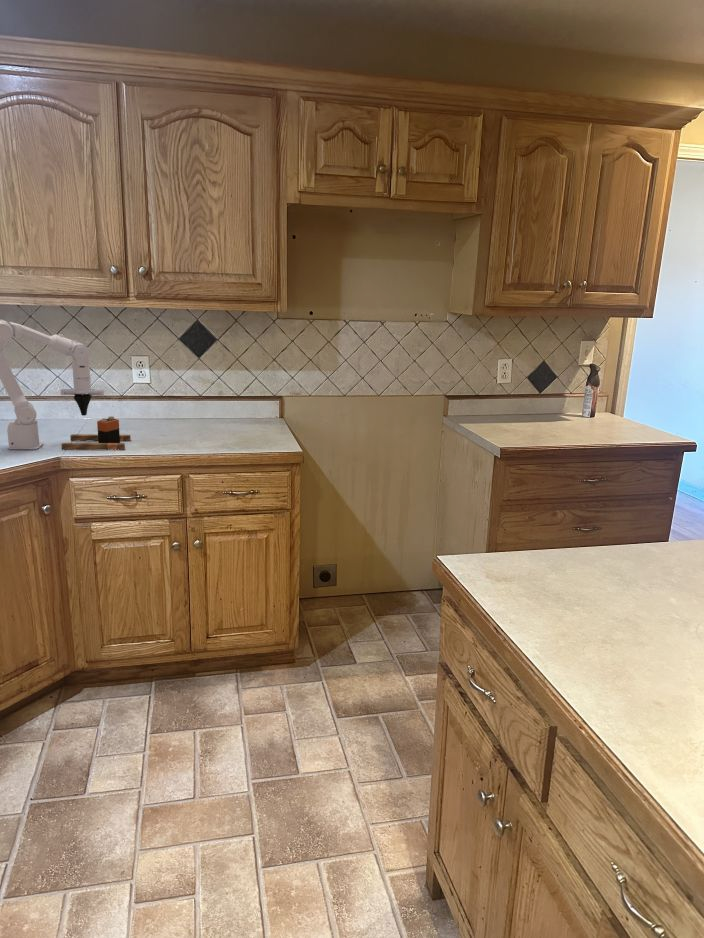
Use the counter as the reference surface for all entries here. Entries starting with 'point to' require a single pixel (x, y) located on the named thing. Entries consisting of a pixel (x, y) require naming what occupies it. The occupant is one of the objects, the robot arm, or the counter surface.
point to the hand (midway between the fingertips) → (84, 415)
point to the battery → (108, 430)
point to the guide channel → (93, 445)
